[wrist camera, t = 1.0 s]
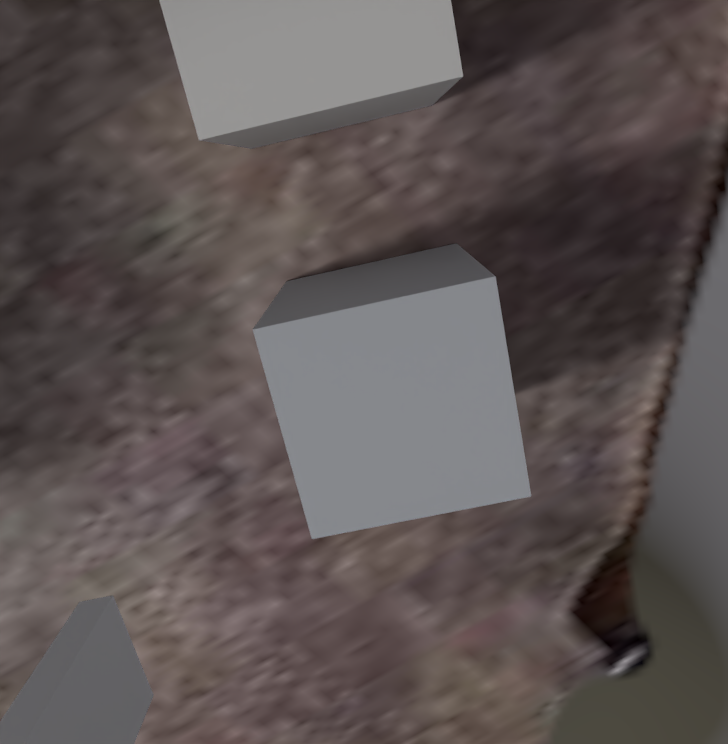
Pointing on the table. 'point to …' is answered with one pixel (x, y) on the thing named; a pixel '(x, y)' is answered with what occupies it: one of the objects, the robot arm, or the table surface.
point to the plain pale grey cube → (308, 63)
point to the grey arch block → (394, 390)
